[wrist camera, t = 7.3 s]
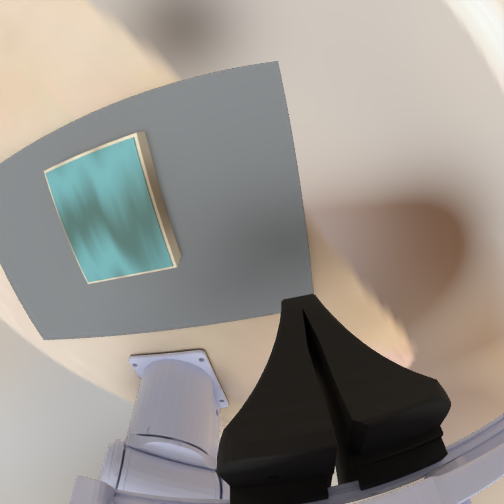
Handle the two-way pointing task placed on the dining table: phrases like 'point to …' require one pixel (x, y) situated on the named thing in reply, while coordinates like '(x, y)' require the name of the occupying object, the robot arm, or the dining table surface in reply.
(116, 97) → the dining table surface
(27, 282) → the rubber mat
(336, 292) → the dining table surface
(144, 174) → the birch tile
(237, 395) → the dining table surface
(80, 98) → the dining table surface
